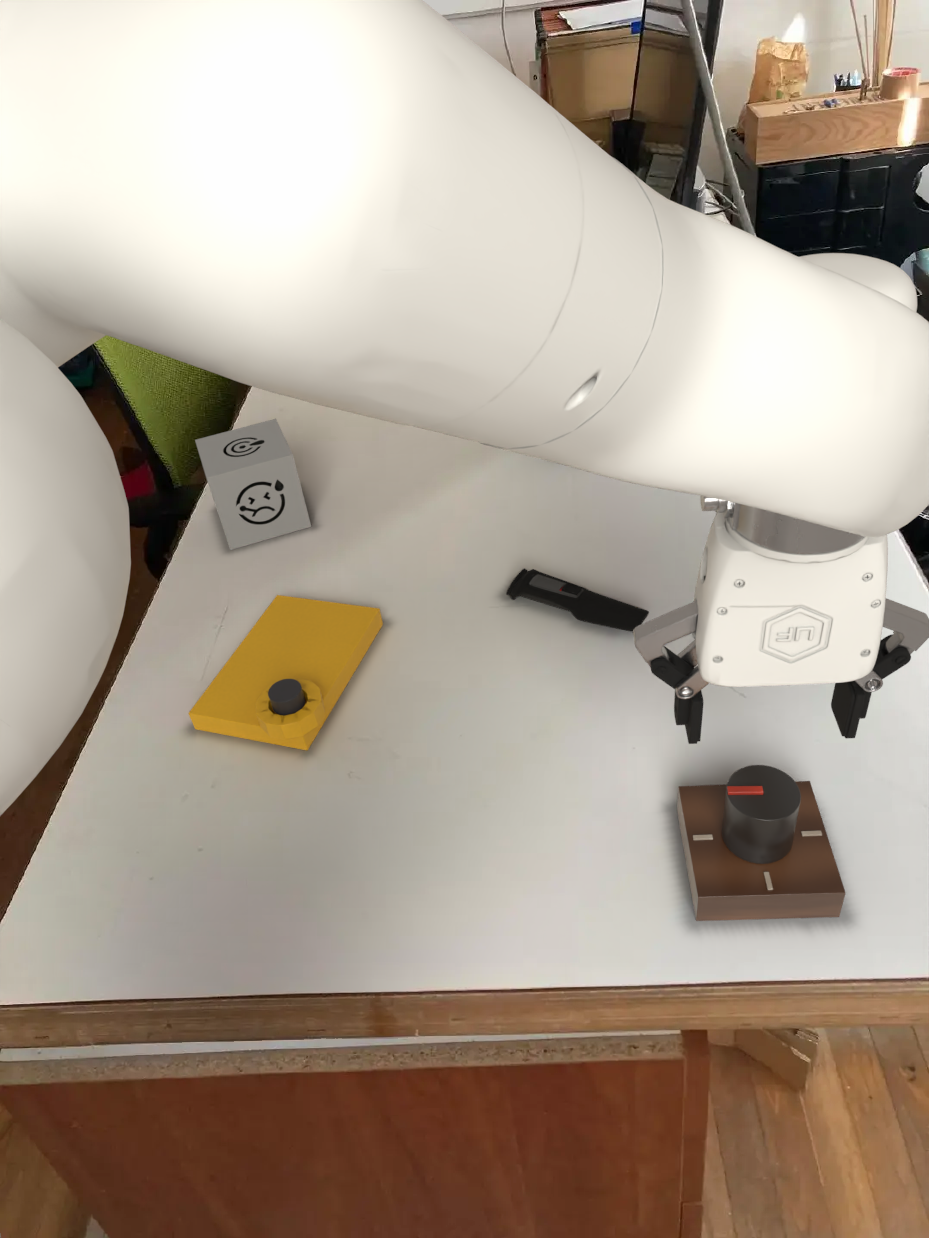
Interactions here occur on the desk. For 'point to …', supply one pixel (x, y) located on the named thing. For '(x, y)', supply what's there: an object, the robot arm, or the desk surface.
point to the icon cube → (253, 483)
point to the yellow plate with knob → (288, 670)
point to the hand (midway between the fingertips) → (765, 725)
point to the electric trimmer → (576, 600)
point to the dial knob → (760, 813)
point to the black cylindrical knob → (286, 697)
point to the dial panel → (750, 888)
